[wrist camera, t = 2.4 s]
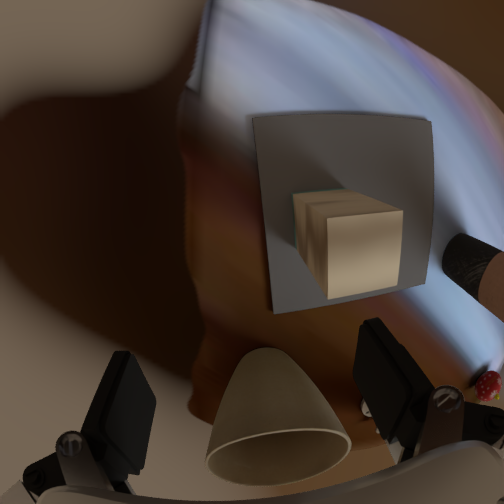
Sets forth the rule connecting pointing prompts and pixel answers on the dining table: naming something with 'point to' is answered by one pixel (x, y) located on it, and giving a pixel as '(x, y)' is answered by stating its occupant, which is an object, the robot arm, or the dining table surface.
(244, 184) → the dining table surface
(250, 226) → the dining table surface
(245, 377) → the plant pot
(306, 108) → the dining table surface
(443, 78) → the dining table surface
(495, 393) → the christmas ornament
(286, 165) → the rubber mat
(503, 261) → the travel mug
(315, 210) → the maple block
